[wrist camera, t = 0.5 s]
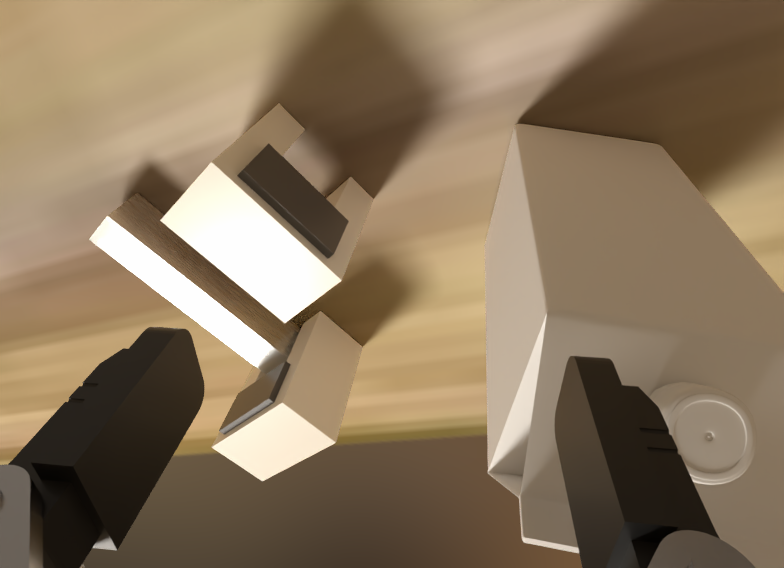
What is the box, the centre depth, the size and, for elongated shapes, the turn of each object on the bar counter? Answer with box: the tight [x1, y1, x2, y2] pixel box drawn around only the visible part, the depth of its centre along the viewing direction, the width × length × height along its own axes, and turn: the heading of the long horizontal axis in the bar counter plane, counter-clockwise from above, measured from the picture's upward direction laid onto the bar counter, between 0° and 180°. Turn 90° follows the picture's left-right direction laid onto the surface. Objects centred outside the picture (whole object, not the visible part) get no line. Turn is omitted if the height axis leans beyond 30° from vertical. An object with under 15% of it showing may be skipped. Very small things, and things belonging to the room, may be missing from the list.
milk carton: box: [485, 124, 784, 568], centre depth 19 cm, size 7×7×19 cm
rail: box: [89, 193, 301, 374], centre depth 32 cm, size 2×17×3 cm, turn 43°
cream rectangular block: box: [160, 104, 374, 323], centre depth 25 cm, size 7×4×8 cm, turn 43°
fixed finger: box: [212, 311, 362, 481], centre depth 32 cm, size 7×4×8 cm, turn 133°
